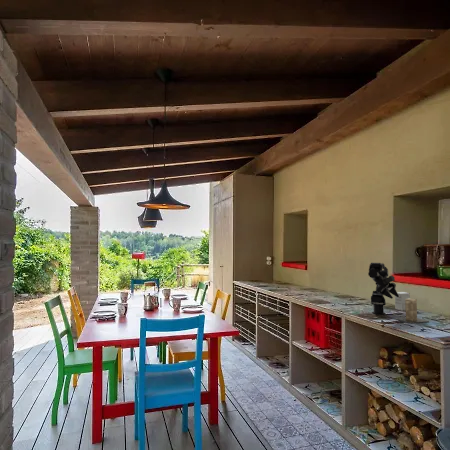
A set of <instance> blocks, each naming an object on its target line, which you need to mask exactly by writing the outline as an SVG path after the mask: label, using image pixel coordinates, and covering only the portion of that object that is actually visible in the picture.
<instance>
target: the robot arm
mask: <svg viewBox="0 0 450 450" xmlns="http://www.w3.org/2000/svg"><path fill="white" fill-rule="evenodd" d="M367 273H368V277H370V279H371V280H372V281H374V283H375V286H376V287H375V290H373V291H372V294H371V296H370V304H371V305H373V311H372V312H371V313H372V314H375V315H386V313H385V312H384V309H385V308H384V307H385V306H386V305H387V304H386V298H385V297H387V298H389V299H391V300H392V299H393V298H394V297H395V296H396V297H399V295H398V293H397V292H398V291H397V290H396V287H397V284H396V283H395V281H396V280H395V279H396V277H395V276H394V275H389V269H388V268H387V267H386V265H385V264H384V263H383V262H382V263H381V262H371V263H370V264H369V266H368V272H367ZM392 295H394V297H393V296H392Z"/></svg>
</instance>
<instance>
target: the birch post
mask: <svg viewBox="0 0 450 450" xmlns="http://www.w3.org/2000/svg"><path fill="white" fill-rule="evenodd" d="M417 303H418V302H417V298H416V299H415V298H410V299H409V298H408V299H405V308H406V311H405V317H406V320H412V321H415V320H417V318H418V309H417V308H418V304H417Z"/></svg>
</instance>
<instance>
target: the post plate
mask: <svg viewBox="0 0 450 450" xmlns="http://www.w3.org/2000/svg"><path fill="white" fill-rule="evenodd" d="M394 320H396V321H401V322H404V323H407V324H411V325H412V324H413V325H414V324H422V323H424V324H425V323H429V322H430V320H427V319H422V318H419V317H417V320H415V321H412V320H406V316H405V317H395V318H394Z"/></svg>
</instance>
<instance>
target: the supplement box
mask: <svg viewBox="0 0 450 450" xmlns="http://www.w3.org/2000/svg"><path fill="white" fill-rule="evenodd" d="M397 293H398V295H399V297H396V296H395V295H394V307H395V310H398V311H401V312H404V311H405V312H406V308H405V299H408V298H409V299H411V297H410V292H406V291H397Z"/></svg>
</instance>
